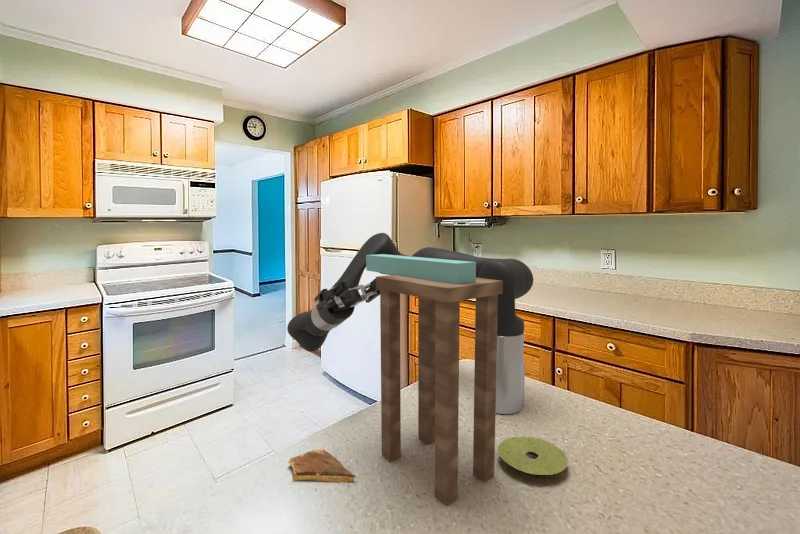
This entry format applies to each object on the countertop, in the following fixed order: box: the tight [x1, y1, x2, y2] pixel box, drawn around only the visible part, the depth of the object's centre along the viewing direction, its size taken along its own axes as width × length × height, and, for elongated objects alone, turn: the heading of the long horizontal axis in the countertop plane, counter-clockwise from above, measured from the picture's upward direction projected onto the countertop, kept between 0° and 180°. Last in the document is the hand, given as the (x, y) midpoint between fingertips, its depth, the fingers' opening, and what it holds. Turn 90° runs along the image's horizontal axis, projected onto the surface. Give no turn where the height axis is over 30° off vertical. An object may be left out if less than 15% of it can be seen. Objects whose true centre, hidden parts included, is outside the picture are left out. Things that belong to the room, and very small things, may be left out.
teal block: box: [365, 254, 476, 284], centre depth 67 cm, size 4×24×3 cm, turn 38°
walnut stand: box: [375, 274, 503, 507], centre depth 64 cm, size 12×17×32 cm
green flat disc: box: [497, 436, 569, 476], centre depth 66 cm, size 11×11×2 cm
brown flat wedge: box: [287, 448, 357, 483], centre depth 63 cm, size 11×8×2 cm
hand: (364, 282), depth 80 cm, fingers open, 8 cm apart
